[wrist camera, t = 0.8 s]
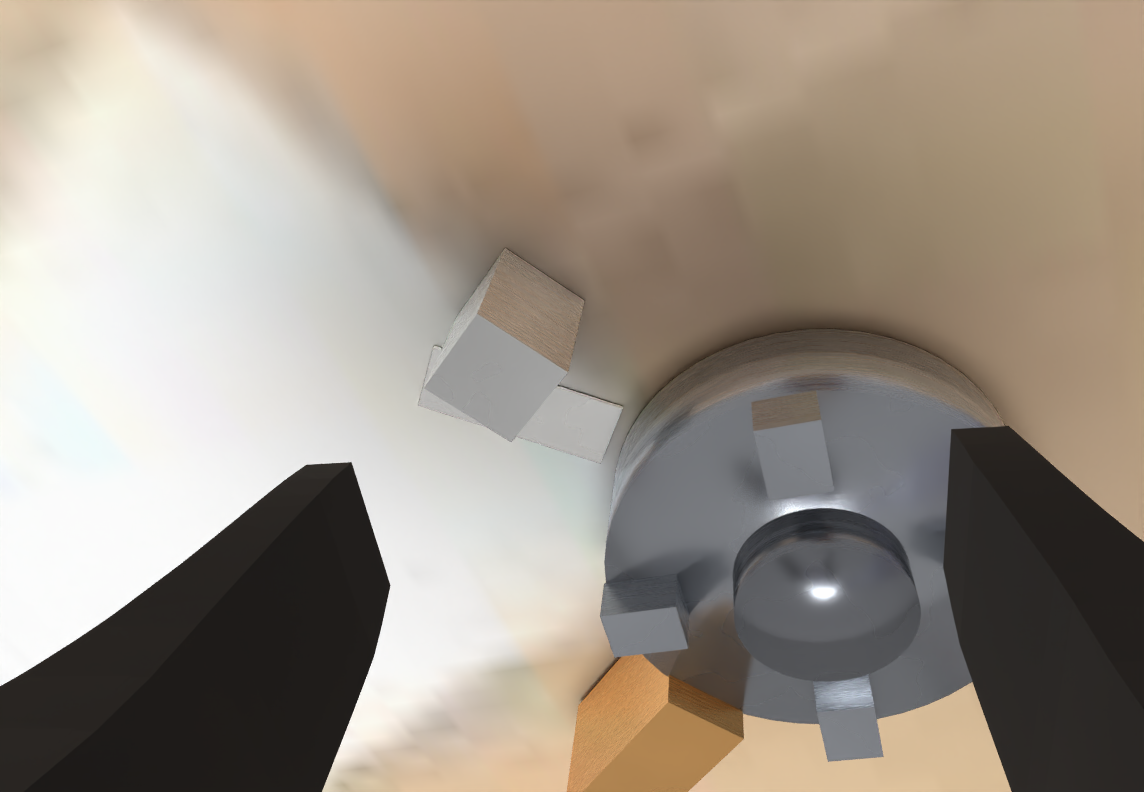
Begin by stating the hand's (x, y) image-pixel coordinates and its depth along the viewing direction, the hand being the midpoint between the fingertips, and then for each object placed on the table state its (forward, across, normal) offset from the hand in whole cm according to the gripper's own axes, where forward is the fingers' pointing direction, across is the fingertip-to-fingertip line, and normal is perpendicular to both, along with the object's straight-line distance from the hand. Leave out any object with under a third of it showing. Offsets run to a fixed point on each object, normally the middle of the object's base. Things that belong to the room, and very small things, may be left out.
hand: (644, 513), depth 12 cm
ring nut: (+9, -1, +9) cm, 13 cm away
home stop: (+9, +3, +3) cm, 10 cm away
